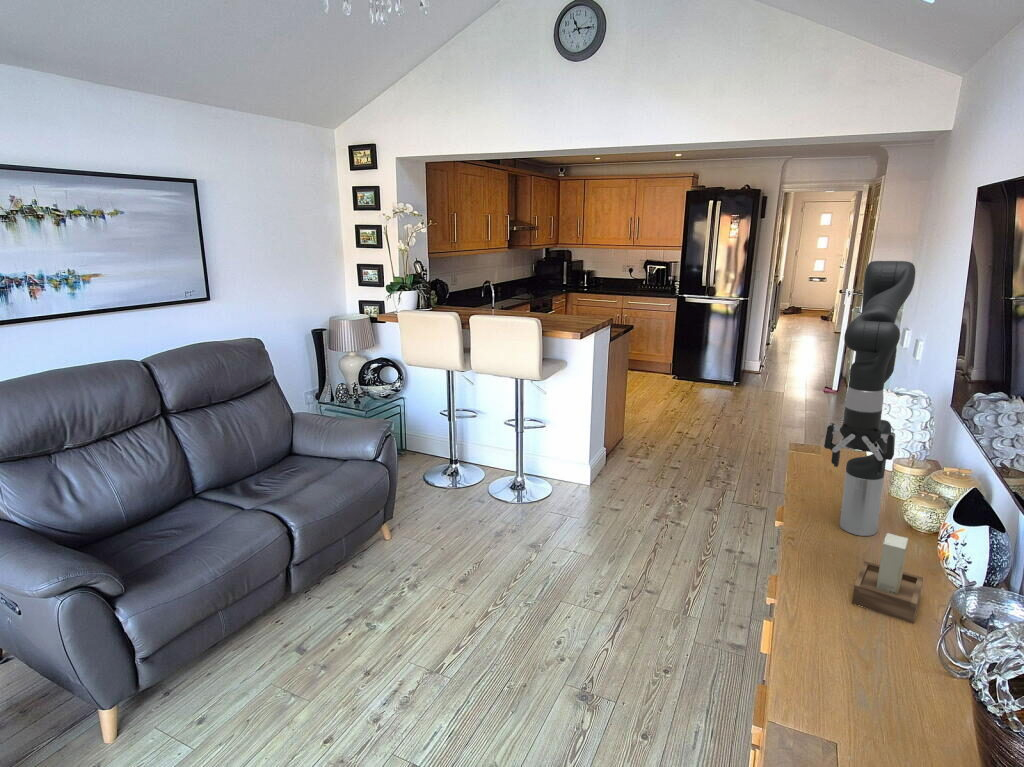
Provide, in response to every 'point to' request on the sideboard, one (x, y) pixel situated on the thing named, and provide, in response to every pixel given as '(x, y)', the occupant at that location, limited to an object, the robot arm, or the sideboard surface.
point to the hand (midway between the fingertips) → (855, 469)
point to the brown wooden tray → (887, 594)
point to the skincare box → (892, 563)
